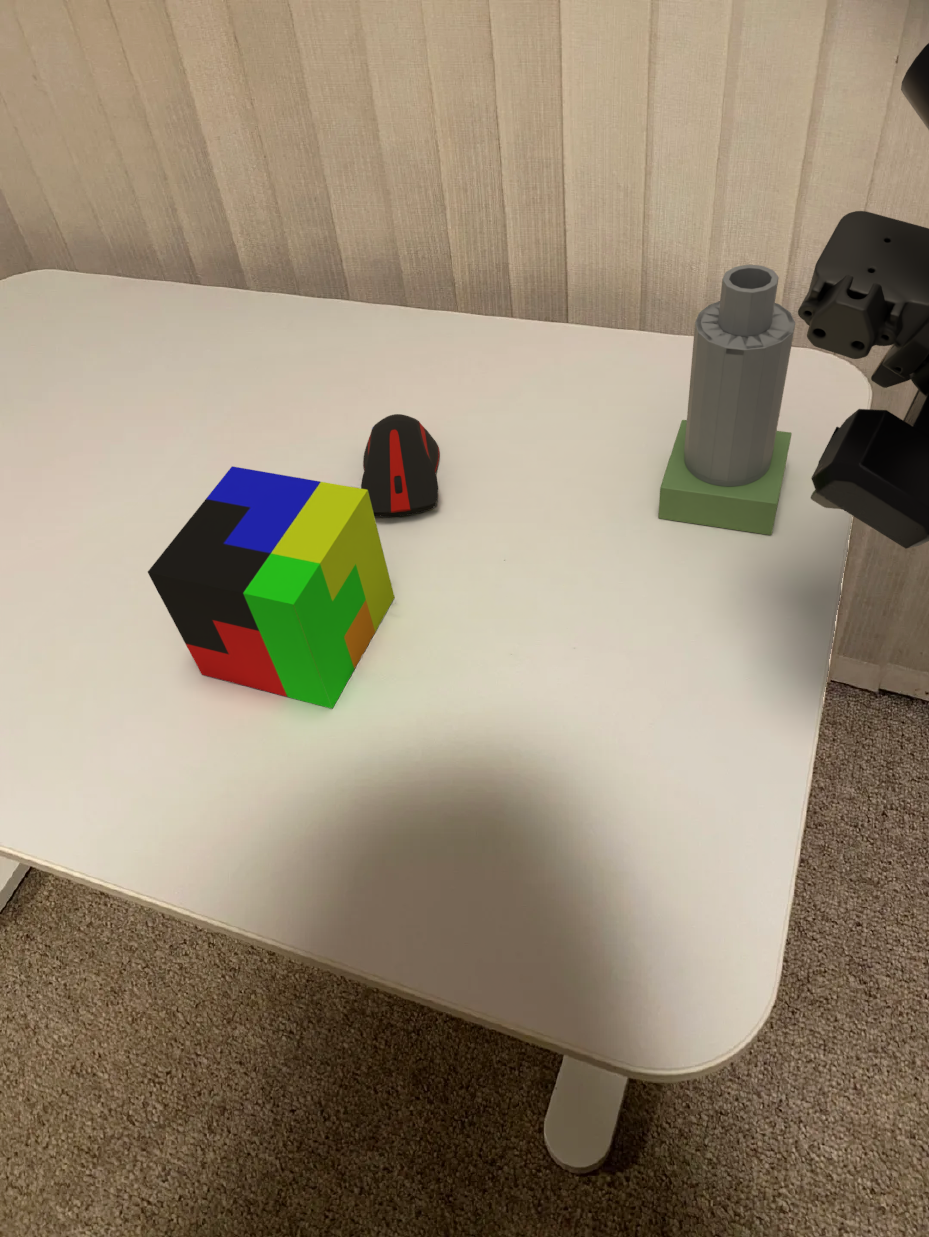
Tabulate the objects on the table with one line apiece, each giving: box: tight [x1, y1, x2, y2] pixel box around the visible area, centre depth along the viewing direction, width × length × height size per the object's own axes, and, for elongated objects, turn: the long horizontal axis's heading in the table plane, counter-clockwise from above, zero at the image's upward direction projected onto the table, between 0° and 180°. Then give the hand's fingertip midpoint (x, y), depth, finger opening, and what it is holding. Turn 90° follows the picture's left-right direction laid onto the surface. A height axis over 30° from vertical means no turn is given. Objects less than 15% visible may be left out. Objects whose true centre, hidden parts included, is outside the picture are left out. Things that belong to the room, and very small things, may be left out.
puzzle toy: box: [147, 465, 396, 710], centre depth 60 cm, size 10×10×10 cm
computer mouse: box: [360, 413, 441, 518], centre depth 72 cm, size 6×11×4 cm, turn 4°
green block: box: [657, 419, 792, 536], centre depth 68 cm, size 8×8×3 cm
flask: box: [684, 264, 796, 487], centre depth 61 cm, size 6×6×14 cm
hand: (848, 440), depth 54 cm, fingers open, 9 cm apart
